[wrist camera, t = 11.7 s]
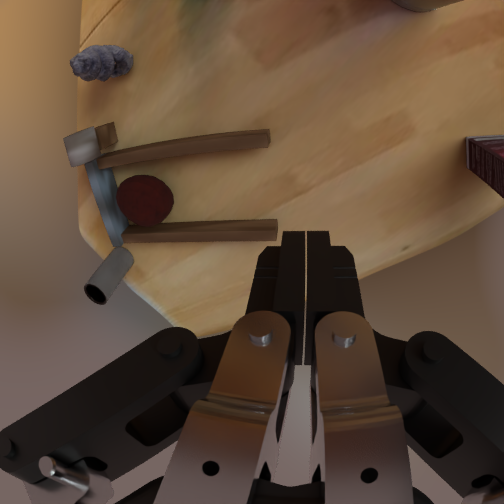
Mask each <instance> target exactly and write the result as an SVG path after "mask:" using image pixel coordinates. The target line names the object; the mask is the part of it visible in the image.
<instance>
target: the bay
mask: <svg viewBox="0 0 504 504" xmlns="http://www.w3.org/2000/svg"><path fill="white" fill-rule="evenodd" d="M117 141H118V139H117V135H116V130H115V126H114V122H112V123H108V124H105V125H102V126H98V127H96V128H94V126H93V127H90V128H87V129H84V130H81V131H79V132H76V133H74V134H72V135H69V136H67V137H65V138H64V143H65V147H66V150H67V154H68V158H69V161H70V165H71V167H75V166H79V165H82V164H84V163H85V164H84V165H85V168H86V171H87V175H88V178H89V181H90V184H91V187H92V190H93V193H94V196H95V199H96V202H97V205H98V208H99V211H100V214H101V216H102V219H103V222H104V224H105V227H106V230H107V232H108V235H109V237H110V240H111V242H112V245H113V247H121V246H122V245H123V243H150V242H210V241H276V239H277V233H278V222H277V219H262V220H223V221H195V222H172V223H158V224H156V225H153V226H151V227H144V226H140V225H138V224H134V225H129V222H128V219H127V217H126V216H125V215H124V214H123V213H122V212H121V210H120V209H119V207H118V205H117V201H116V194H117V190H118V188H117V185H116V181H115V178H114V175H113V171H112V168H111V167H114V166H119V165H125V164H130V163H136V162H141V161H147V160H154V159H160V158H167V157H174V156H181V155H189V154H197V153H206V152H216V151H226V150H238V149H252V148H268V147H269V144H270V142H271V141H270V131H269V129H263V130H249V131H238V132H227V133H218V134H210V135H202V136H194V137H187V138H181V139H174V140H168V141H162V142H157V143H151V144H146V145H141V146H136V147H131V148H126V149H122V150H117V151H113V152H109V153H104V154H101V152H100V150H102V149H104V148H106V147H108V146H110V145H111V144H113V143H115V142H117Z"/></svg>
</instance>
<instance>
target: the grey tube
mask: <svg viewBox="0 0 504 504" xmlns="http://www.w3.org/2000/svg"><path fill="white" fill-rule="evenodd" d="M133 261H134V260H133V256H132V255H131V253H130V252H129V251H128V250H127V249H125V248H123V247H116V248H114V250H113V251H112V252H111V253H110V254H109V255H108V257H107V258H106V259H105V260H104V262H103V263H102V264H101V265H100V267H99V268H98V269H97V270H96V271H95V273H94V274H93V275H92V277H91V278H90V279H89V281H88V282H87V283H86V284H85V286H84V291H85V293H86V295H87V296H88V297H89V299H91V300H92V301H93V302H95V303H97V304H100V305H104V304H106V302H107V301H108V299H109V298H110V296H111V295H112V293H113V292H114V290H115V289H116V288H117V286H118V285H119V283H120V282H121V280H122V279H123V277H124V276H125V275H126V273H127V272H128V270H129V269H130V268H131V266H132V264H133Z"/></svg>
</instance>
